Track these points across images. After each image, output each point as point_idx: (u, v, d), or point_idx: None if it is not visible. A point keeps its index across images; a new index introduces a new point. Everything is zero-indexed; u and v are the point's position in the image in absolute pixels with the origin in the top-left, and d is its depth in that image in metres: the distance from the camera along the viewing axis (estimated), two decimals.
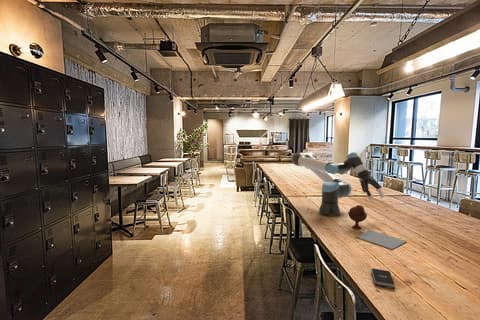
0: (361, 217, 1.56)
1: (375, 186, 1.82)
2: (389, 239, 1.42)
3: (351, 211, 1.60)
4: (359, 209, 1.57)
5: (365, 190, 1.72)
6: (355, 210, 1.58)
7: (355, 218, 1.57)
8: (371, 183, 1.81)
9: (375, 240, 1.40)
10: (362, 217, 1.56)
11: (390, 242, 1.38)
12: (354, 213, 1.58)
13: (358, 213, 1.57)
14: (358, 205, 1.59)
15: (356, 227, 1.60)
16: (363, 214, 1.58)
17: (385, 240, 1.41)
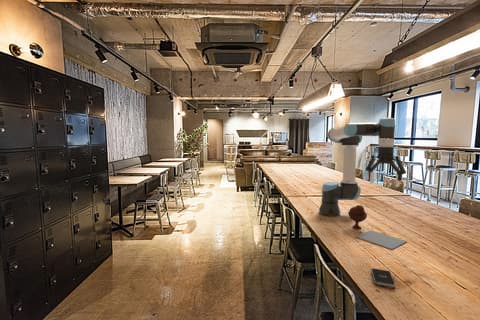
0: (361, 217, 1.56)
1: None
2: (389, 239, 1.42)
3: (351, 211, 1.60)
4: (359, 209, 1.57)
5: None
6: (355, 210, 1.58)
7: (355, 218, 1.57)
8: None
9: (375, 240, 1.40)
10: (362, 217, 1.56)
11: (390, 242, 1.38)
12: (354, 213, 1.58)
13: (358, 213, 1.57)
14: (358, 205, 1.59)
15: (356, 227, 1.60)
16: (363, 214, 1.58)
17: (385, 240, 1.41)
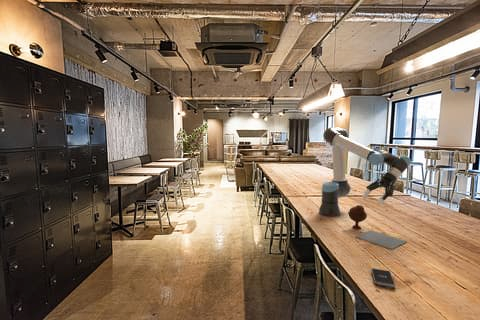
0: (361, 217, 1.56)
1: None
2: (389, 239, 1.42)
3: (351, 211, 1.60)
4: (359, 209, 1.57)
5: None
6: (355, 210, 1.58)
7: (355, 218, 1.57)
8: None
9: (375, 240, 1.40)
10: (362, 217, 1.56)
11: (390, 242, 1.38)
12: (354, 213, 1.58)
13: (358, 213, 1.57)
14: (358, 205, 1.59)
15: (356, 227, 1.60)
16: (363, 214, 1.58)
17: (385, 240, 1.41)
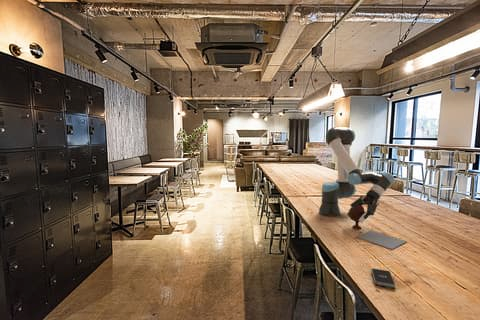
0: None
1: None
2: (389, 239, 1.42)
3: (351, 211, 1.60)
4: (359, 209, 1.57)
5: (350, 205, 1.70)
6: (355, 210, 1.58)
7: (355, 218, 1.57)
8: None
9: (375, 240, 1.40)
10: None
11: (390, 242, 1.38)
12: (354, 213, 1.58)
13: (358, 213, 1.57)
14: (358, 205, 1.59)
15: (356, 227, 1.60)
16: None
17: (385, 240, 1.41)
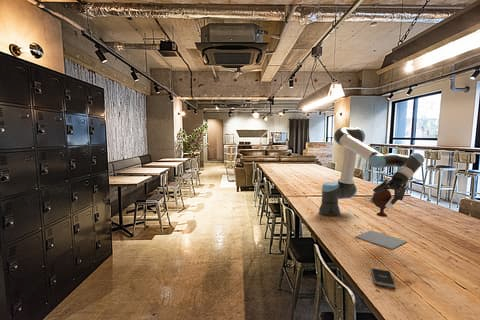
0: None
1: None
2: (389, 239, 1.42)
3: (376, 196, 1.40)
4: (385, 193, 1.37)
5: None
6: (380, 195, 1.38)
7: (381, 204, 1.38)
8: None
9: (375, 240, 1.40)
10: None
11: (390, 242, 1.38)
12: (379, 198, 1.38)
13: (384, 198, 1.38)
14: (384, 189, 1.40)
15: (381, 214, 1.40)
16: None
17: (385, 240, 1.41)
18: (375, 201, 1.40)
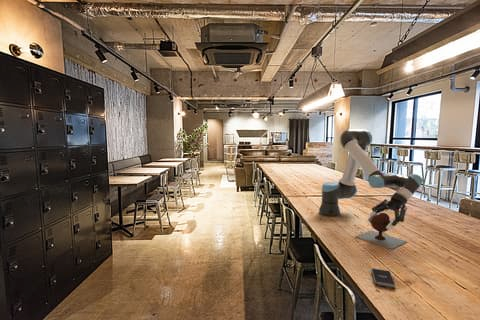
0: (386, 226, 1.38)
1: None
2: (389, 239, 1.42)
3: (374, 219, 1.41)
4: (384, 217, 1.39)
5: (372, 209, 1.52)
6: (379, 218, 1.40)
7: (379, 227, 1.39)
8: None
9: (375, 240, 1.40)
10: None
11: (390, 242, 1.38)
12: (378, 222, 1.40)
13: (382, 222, 1.39)
14: (382, 213, 1.41)
15: (380, 237, 1.42)
16: (388, 223, 1.40)
17: (385, 240, 1.41)
18: (373, 225, 1.41)
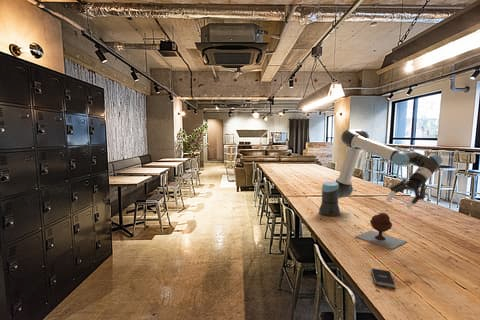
0: (386, 226, 1.38)
1: None
2: (389, 239, 1.42)
3: (374, 219, 1.42)
4: (383, 217, 1.39)
5: (390, 189, 1.54)
6: (379, 218, 1.40)
7: (379, 228, 1.39)
8: None
9: (375, 240, 1.40)
10: (387, 226, 1.38)
11: (390, 242, 1.38)
12: (378, 222, 1.40)
13: (382, 222, 1.39)
14: (382, 213, 1.41)
15: (380, 237, 1.42)
16: (388, 223, 1.40)
17: (385, 240, 1.41)
18: (373, 225, 1.41)
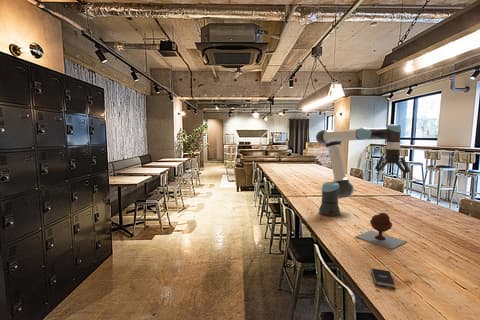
0: (386, 226, 1.38)
1: None
2: (389, 239, 1.42)
3: (374, 219, 1.42)
4: (383, 217, 1.39)
5: None
6: (379, 218, 1.40)
7: (379, 228, 1.39)
8: None
9: (375, 240, 1.40)
10: (387, 226, 1.38)
11: (390, 242, 1.38)
12: (378, 222, 1.40)
13: (382, 222, 1.39)
14: (382, 213, 1.41)
15: (380, 237, 1.42)
16: (388, 223, 1.40)
17: (385, 240, 1.41)
18: (373, 225, 1.41)
